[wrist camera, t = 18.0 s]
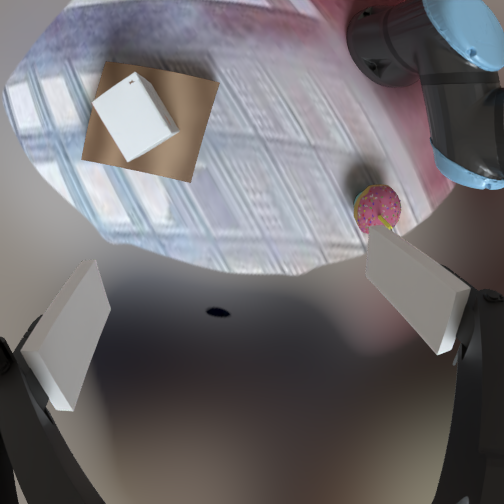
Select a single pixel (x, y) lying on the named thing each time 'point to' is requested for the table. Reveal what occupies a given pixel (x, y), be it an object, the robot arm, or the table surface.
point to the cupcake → (377, 207)
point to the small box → (135, 116)
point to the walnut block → (180, 109)
